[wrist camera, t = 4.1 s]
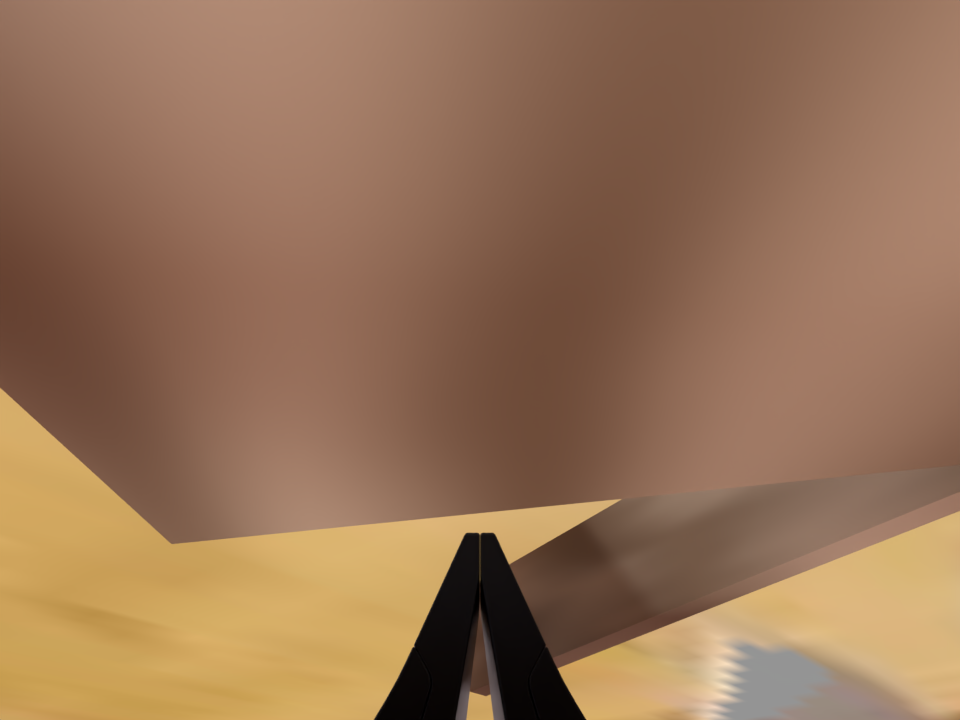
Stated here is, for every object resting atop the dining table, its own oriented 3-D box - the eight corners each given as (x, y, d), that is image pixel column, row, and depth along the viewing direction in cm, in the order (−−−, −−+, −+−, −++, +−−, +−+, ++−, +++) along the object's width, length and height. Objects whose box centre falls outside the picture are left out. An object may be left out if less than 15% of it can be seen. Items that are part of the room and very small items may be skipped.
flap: (489, 593, 16) (492, 697, 14) (471, 586, 16) (470, 691, 13) (951, 339, 9) (1110, 459, 7) (936, 317, 9) (1097, 435, 7)
